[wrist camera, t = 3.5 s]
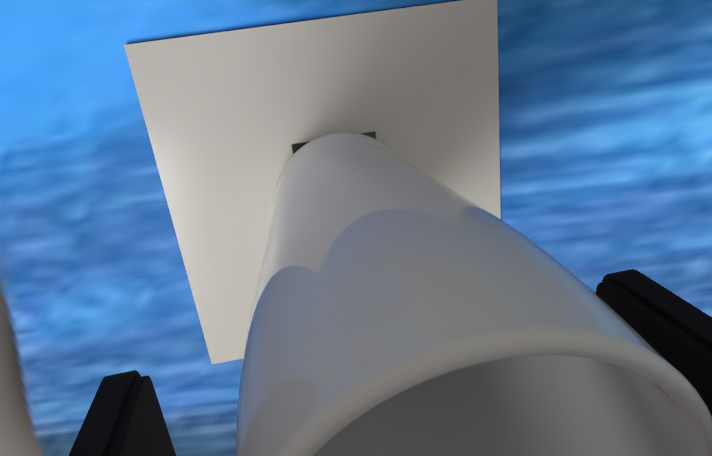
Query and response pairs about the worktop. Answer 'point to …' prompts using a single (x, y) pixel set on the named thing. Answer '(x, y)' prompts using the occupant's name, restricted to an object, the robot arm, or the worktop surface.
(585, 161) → the worktop surface
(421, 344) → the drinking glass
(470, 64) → the tile
